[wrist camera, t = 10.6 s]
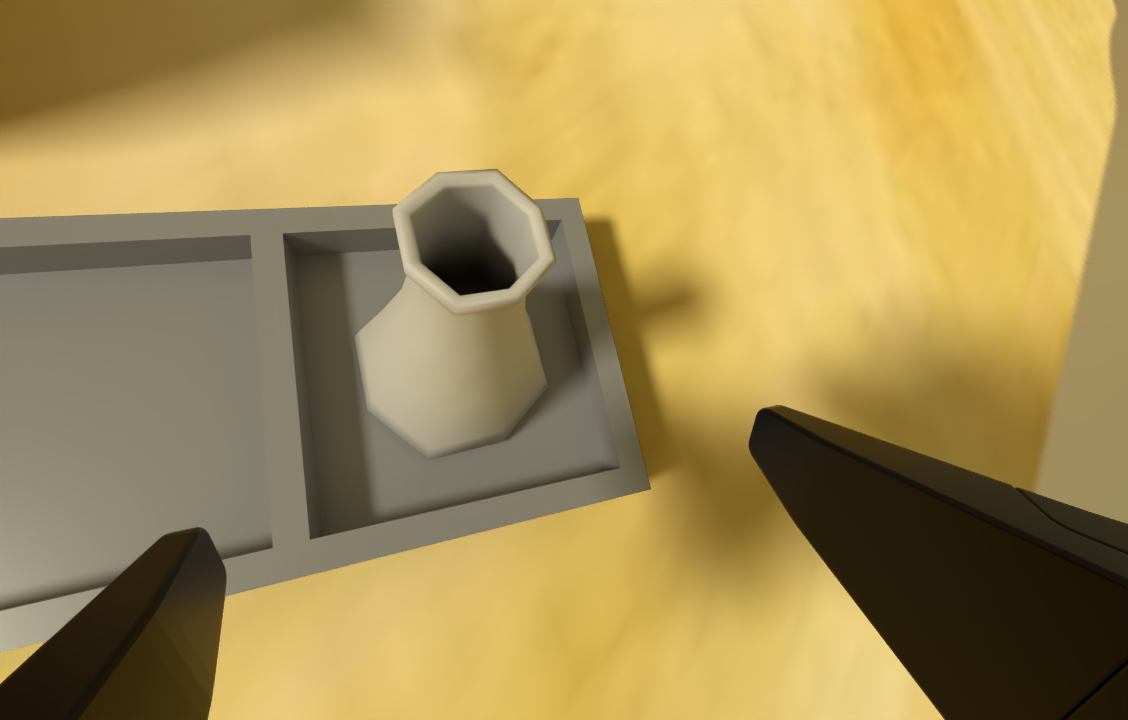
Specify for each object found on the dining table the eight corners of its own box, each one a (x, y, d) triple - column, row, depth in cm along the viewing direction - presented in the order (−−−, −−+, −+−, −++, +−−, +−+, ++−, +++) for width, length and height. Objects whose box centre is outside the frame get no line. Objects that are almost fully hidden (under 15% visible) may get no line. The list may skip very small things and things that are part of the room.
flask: (485, 255, 20) (530, 53, 11) (575, 395, 20) (703, 305, 10) (320, 330, 18) (199, 147, 9) (417, 495, 17) (401, 492, 8)
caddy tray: (625, 490, 20) (650, 489, 18) (-179, 689, 13) (-316, 732, 10) (563, 228, 23) (578, 198, 20) (-127, 267, 15) (-226, 226, 13)
